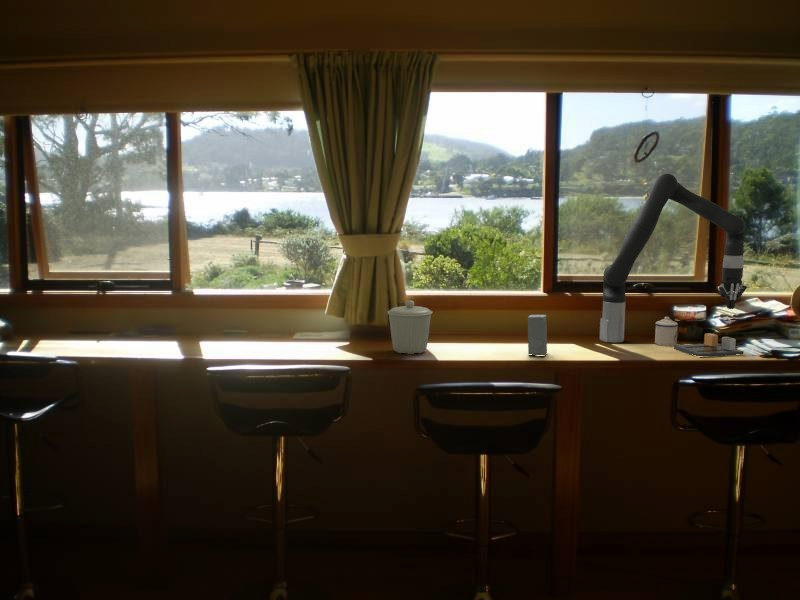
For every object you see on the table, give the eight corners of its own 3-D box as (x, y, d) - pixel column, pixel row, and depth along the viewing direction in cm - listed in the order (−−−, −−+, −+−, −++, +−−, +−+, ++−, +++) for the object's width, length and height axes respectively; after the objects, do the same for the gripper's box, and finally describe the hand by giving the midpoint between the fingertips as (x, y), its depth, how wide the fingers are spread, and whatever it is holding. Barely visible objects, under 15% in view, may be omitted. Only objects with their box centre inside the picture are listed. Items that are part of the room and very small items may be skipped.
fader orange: (711, 346, 284) (712, 335, 283) (704, 344, 288) (704, 333, 288) (717, 346, 284) (718, 335, 283) (709, 343, 289) (710, 332, 288)
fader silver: (729, 350, 276) (729, 339, 276) (721, 347, 281) (721, 336, 280) (735, 350, 277) (735, 338, 276) (727, 347, 281) (727, 336, 281)
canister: (387, 347, 292) (387, 297, 289) (431, 347, 292) (431, 297, 289) (387, 357, 274) (387, 303, 271) (433, 356, 274) (433, 303, 271)
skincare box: (544, 357, 272) (545, 317, 270) (526, 356, 275) (527, 316, 273) (547, 353, 280) (548, 314, 278) (529, 351, 283) (530, 313, 280)
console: (699, 357, 271) (699, 353, 271) (673, 348, 288) (673, 344, 288) (744, 355, 276) (744, 351, 275) (716, 346, 292) (716, 342, 292)
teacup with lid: (678, 346, 292) (680, 319, 290) (655, 345, 294) (657, 318, 292) (673, 341, 303) (675, 314, 302) (651, 340, 305) (653, 313, 304)
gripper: (740, 265, 288) (738, 306, 291) (712, 266, 285) (710, 308, 288) (753, 267, 281) (750, 309, 283) (724, 267, 278) (722, 310, 281)
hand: (730, 308), depth 286 cm, fingers closed
